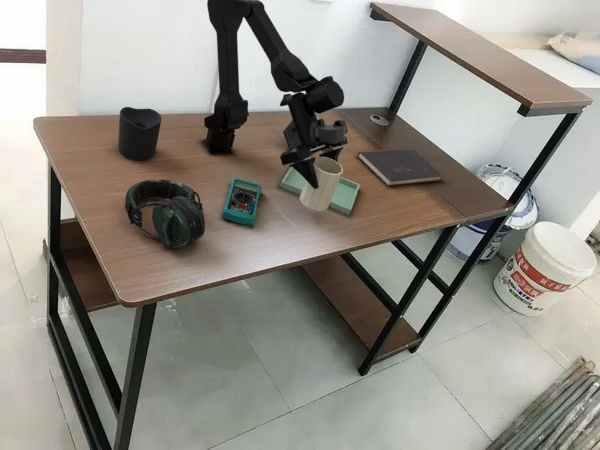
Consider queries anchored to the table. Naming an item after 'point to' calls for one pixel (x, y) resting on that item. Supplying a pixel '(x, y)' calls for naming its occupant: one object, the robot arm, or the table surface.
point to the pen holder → (138, 132)
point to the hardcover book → (399, 167)
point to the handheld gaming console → (291, 136)
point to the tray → (341, 196)
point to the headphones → (167, 210)
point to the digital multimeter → (242, 202)
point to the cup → (322, 184)
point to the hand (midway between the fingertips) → (326, 184)
